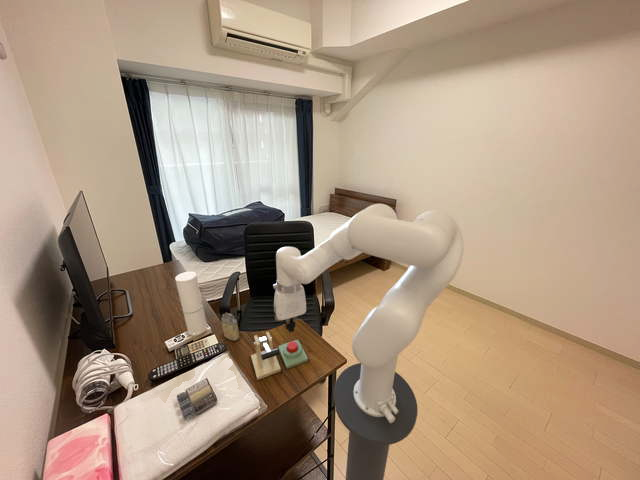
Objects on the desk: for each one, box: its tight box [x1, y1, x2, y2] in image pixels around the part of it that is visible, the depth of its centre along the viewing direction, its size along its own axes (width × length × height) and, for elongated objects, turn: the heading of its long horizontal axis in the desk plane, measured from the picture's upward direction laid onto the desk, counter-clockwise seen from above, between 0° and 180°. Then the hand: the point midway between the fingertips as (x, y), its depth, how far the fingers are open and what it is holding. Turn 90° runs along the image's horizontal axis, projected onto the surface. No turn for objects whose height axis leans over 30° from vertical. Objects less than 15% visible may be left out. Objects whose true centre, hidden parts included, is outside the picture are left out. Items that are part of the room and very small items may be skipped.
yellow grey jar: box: [221, 312, 240, 342], centre depth 98 cm, size 7×4×10 cm, turn 61°
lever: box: [258, 335, 280, 360], centre depth 80 cm, size 12×5×2 cm, turn 25°
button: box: [287, 341, 297, 353], centre depth 90 cm, size 4×4×2 cm
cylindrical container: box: [174, 271, 208, 336], centre depth 99 cm, size 7×7×25 cm
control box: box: [277, 339, 309, 369], centre depth 91 cm, size 10×8×3 cm
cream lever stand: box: [250, 331, 282, 381], centre depth 85 cm, size 10×8×12 cm
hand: (290, 329), depth 88 cm, fingers closed
